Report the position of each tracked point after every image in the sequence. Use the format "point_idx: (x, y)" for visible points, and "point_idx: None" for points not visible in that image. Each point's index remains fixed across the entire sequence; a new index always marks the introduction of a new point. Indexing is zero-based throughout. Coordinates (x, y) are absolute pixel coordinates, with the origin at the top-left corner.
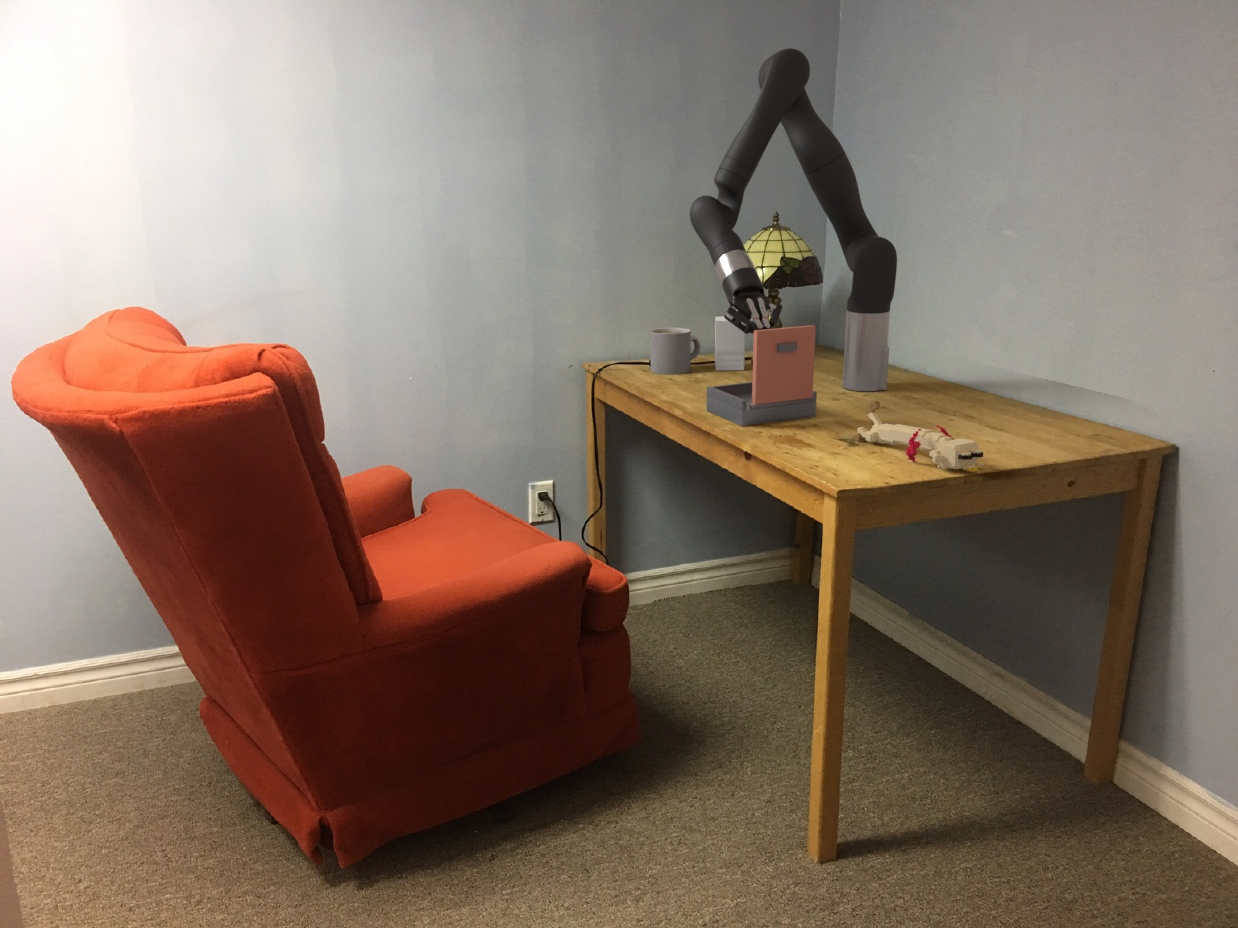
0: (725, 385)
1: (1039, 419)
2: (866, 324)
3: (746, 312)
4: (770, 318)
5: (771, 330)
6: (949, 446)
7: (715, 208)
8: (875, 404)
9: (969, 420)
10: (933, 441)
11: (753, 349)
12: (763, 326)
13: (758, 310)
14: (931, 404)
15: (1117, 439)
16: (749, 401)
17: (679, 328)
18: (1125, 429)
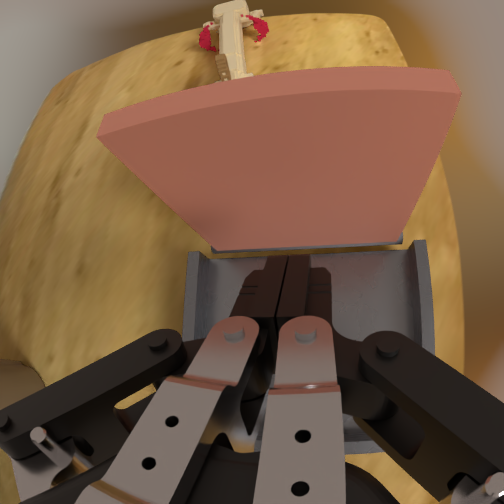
0: (371, 445)
1: (34, 154)
2: None
3: (376, 490)
4: (118, 442)
5: (365, 68)
6: (245, 2)
7: None
8: (225, 55)
9: (68, 165)
10: (239, 18)
11: (438, 152)
12: (258, 352)
13: (203, 483)
14: (34, 255)
15: (62, 91)
16: (352, 338)
17: None
18: (35, 116)
